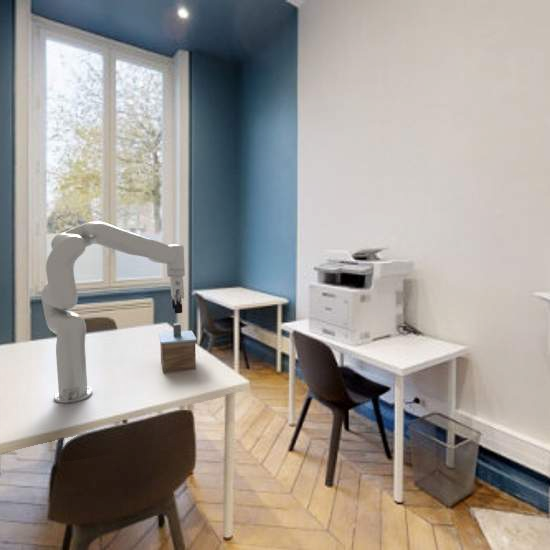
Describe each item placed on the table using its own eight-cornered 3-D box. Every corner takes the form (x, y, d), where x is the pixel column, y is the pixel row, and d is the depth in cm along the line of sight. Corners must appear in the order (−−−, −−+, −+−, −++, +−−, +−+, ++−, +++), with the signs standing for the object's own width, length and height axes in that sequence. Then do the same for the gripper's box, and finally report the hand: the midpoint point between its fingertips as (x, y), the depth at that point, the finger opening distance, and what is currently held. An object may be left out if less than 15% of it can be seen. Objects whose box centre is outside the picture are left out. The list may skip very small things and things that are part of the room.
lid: (196, 341, 171) (196, 327, 171) (161, 344, 166) (160, 329, 166) (191, 332, 185) (191, 319, 185) (158, 334, 180) (158, 321, 180)
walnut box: (195, 369, 173) (195, 340, 172) (163, 372, 169) (162, 343, 167) (191, 358, 187) (190, 332, 185) (160, 362, 182) (160, 335, 180)
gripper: (187, 274, 165) (188, 314, 168) (182, 270, 182) (183, 306, 184) (168, 275, 163) (170, 315, 165) (165, 270, 179) (167, 307, 181)
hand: (177, 310), depth 175 cm, fingers open, 9 cm apart
